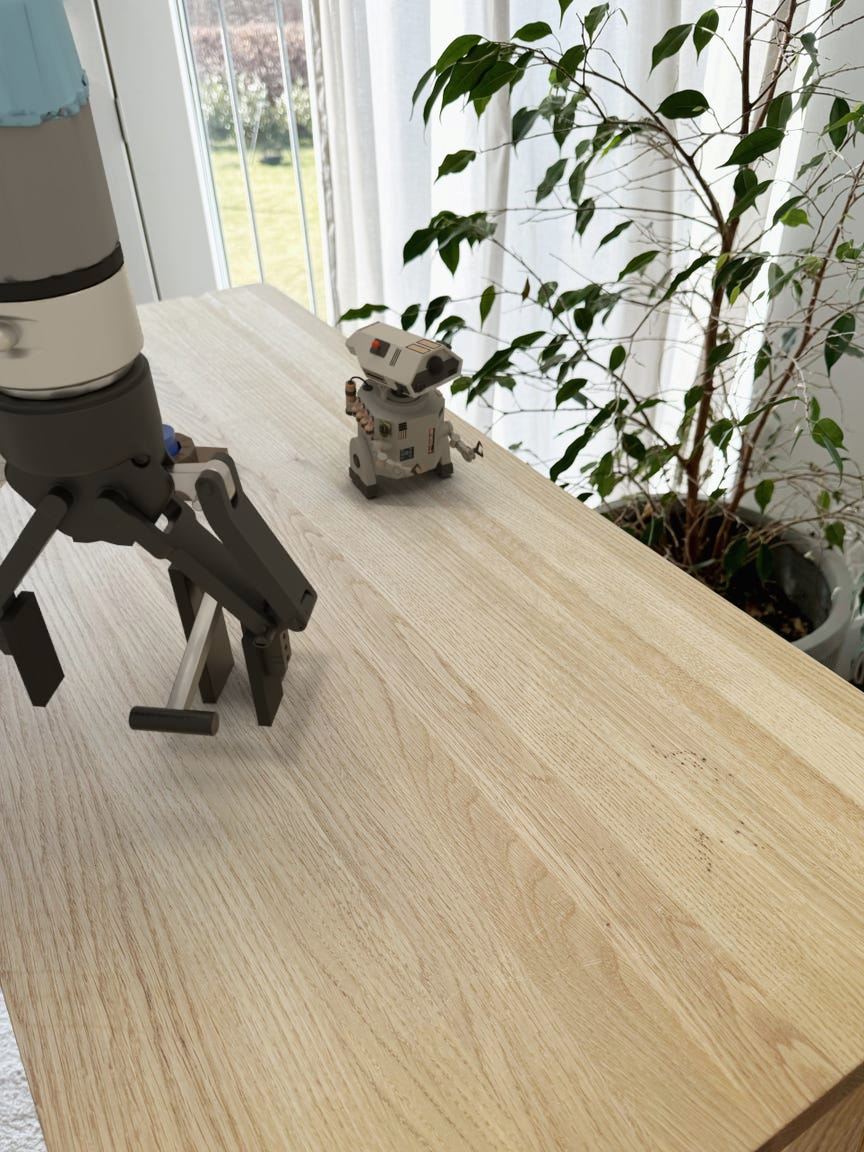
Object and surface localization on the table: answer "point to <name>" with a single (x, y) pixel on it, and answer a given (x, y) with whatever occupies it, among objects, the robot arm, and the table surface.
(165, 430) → the button
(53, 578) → the table surface
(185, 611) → the lever bracket
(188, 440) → the switch block
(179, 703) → the lever
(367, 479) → the figurine
